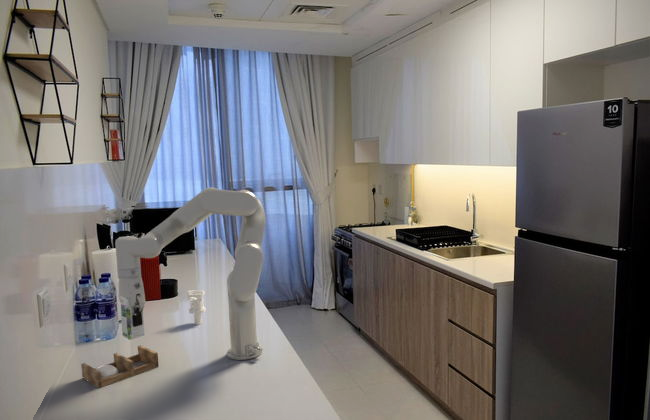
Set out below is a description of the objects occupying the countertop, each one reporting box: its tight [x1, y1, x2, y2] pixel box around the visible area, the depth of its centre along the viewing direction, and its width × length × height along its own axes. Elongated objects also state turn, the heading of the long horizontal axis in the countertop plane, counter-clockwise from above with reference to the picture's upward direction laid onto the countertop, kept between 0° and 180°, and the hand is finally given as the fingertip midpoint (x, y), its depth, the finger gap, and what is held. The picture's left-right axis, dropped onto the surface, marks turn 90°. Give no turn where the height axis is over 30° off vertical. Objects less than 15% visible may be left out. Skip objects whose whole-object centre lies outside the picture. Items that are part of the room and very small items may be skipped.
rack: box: [81, 345, 160, 389], centre depth 175 cm, size 12×21×5 cm, turn 138°
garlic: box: [96, 364, 119, 380], centre depth 172 cm, size 8×7×4 cm
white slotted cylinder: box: [187, 289, 207, 326], centre depth 224 cm, size 7×7×15 cm
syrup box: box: [119, 296, 145, 341], centre depth 177 cm, size 6×6×14 cm
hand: (132, 323), depth 177 cm, fingers closed on syrup box, 5 cm apart
